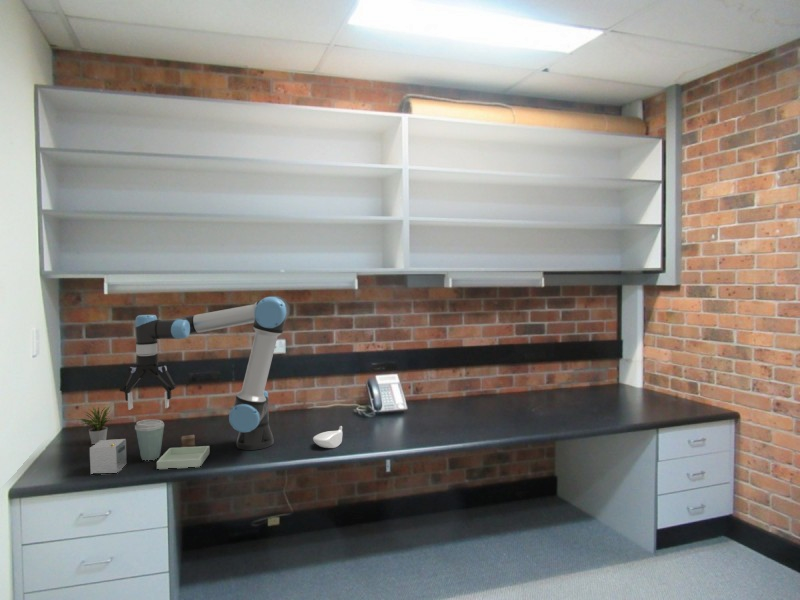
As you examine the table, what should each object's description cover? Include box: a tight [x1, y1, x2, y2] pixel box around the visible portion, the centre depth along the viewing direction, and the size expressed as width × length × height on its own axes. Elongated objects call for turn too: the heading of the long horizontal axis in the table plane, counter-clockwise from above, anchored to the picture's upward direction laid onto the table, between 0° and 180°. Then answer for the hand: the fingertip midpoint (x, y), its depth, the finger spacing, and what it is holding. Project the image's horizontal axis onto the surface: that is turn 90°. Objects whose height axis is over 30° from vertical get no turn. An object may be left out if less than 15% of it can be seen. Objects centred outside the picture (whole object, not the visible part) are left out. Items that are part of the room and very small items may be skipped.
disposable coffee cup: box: [134, 419, 165, 462], centre depth 204 cm, size 11×11×15 cm
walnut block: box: [181, 434, 196, 447], centre depth 215 cm, size 5×5×5 cm
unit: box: [89, 438, 128, 475], centre depth 193 cm, size 10×9×10 cm
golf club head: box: [312, 425, 343, 449], centre depth 218 cm, size 10×11×12 cm
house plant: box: [76, 405, 113, 445], centre depth 225 cm, size 14×14×16 cm
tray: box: [156, 445, 211, 470], centre depth 201 cm, size 15×15×3 cm
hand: (148, 408), depth 203 cm, fingers open, 13 cm apart
